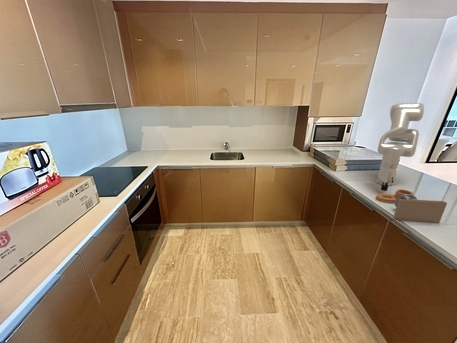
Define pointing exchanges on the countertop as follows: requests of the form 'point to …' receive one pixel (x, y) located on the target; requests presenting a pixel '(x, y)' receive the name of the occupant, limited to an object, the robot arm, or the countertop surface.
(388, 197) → the bracket
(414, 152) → the robot arm
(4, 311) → the countertop surface
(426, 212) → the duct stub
